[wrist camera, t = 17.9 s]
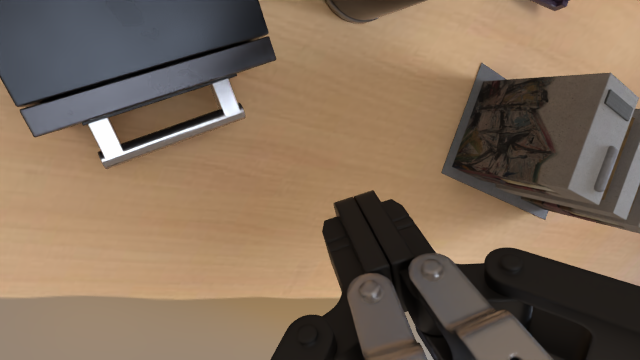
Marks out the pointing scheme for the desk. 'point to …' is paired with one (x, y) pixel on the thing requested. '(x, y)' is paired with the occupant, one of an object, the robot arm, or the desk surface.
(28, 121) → the oven door
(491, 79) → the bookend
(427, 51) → the desk surface
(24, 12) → the oven
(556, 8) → the figurine
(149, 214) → the desk surface
